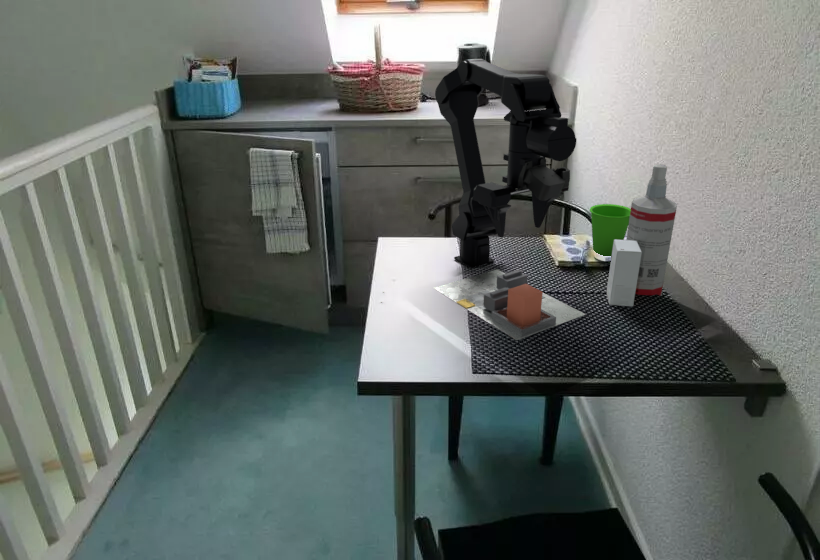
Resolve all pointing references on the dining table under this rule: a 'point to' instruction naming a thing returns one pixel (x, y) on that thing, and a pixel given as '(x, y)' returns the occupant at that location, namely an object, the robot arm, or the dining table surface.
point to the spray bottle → (652, 232)
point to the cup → (608, 226)
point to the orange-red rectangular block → (524, 305)
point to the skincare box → (623, 272)
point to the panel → (472, 299)
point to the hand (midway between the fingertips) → (519, 232)
